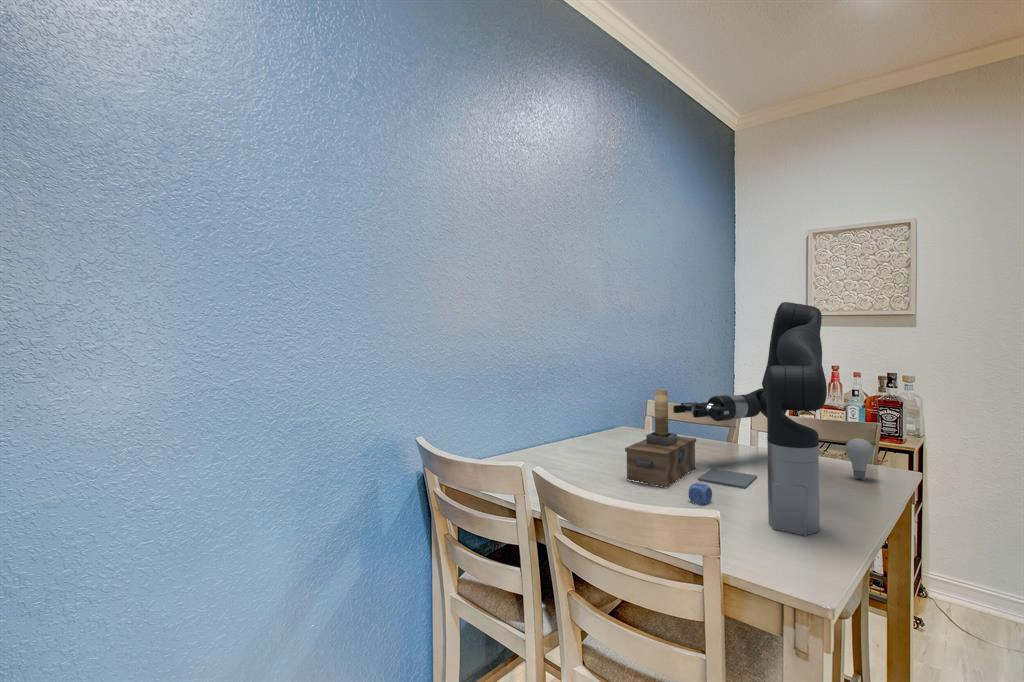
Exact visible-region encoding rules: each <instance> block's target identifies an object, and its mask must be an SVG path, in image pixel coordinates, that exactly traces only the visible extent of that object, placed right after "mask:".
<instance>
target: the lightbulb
mask: <svg viewBox="0 0 1024 682" xmlns="http://www.w3.org/2000/svg"><path fill="white" fill-rule="evenodd" d="M844 448H845V449H844V450H845V453H846V454H847V457H848V458H849V460H850V462H851V467H852V470H853V476H854V477H855V478H856V479H857V480H863V479H865V478H866V471H867V467H868V464H869V461H870V460H871V459H872V457H873V455H874V447H873V445H872V444H871V443H870V442H869V441H867V440H866V439H863V438H859V437H858V438H857V437H855V438H852V439H849V441H847V443H846V444H845V447H844Z"/></svg>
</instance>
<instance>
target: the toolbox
mask: <svg viewBox="0 0 1024 682" xmlns="http://www.w3.org/2000/svg"><path fill="white" fill-rule="evenodd" d="M696 442H697V437H688V436H680V435H677V443H675V444H673V445H671V446H669V447H667V446H660V445H653V444H646V438H645V439H642V440H641V441H638V442H635V443H634V444H631V445H629V446H626V447H625V448H624V452H625V453H626V480H627V479H629V480H634V481H639V482H643V483H648V484H653V485H658V486H662V487H661V488H663V487H667V486H668V487H669V485H670V484H671V485H672V483H673V482H674V483H676V482H677V481H679V480H680V479H682V478H683V477H685V476H686V475H688V474H689V473H691V472H692V471H694V470H695V469H696ZM694 468H695V469H694ZM693 469H694V470H693ZM691 470H692V471H691ZM690 471H691V472H690ZM688 472H689V473H688ZM687 473H688V474H687ZM685 474H686V475H685ZM684 475H685V476H684ZM682 476H683V477H682ZM681 477H682V478H681ZM679 478H680V479H679ZM678 479H679V480H678ZM676 480H677V481H676ZM675 481H676V482H675ZM643 483H642V484H643ZM674 483H673V484H674ZM648 484H647V485H648ZM653 485H652V486H653ZM671 485H670V486H671ZM658 486H657V487H658ZM668 487H667V488H668Z"/></svg>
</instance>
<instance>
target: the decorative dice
mask: <svg viewBox="0 0 1024 682" xmlns="http://www.w3.org/2000/svg"><path fill="white" fill-rule="evenodd" d="M688 498H689V500H690V501H691V502H692V503H693V502H694V503H693V504H695V503H696V504H695V505H699V504H701V505H700V506H705V504H707V505H709V504H710V503H711V501H712V498H713V491H712V488H711V487H710V485H708V484H707V483H704V482H703V483H701V482H695V483H692V484H691V485H690V486H689V488H688Z"/></svg>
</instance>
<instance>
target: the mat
mask: <svg viewBox="0 0 1024 682" xmlns="http://www.w3.org/2000/svg"><path fill="white" fill-rule="evenodd" d="M757 478H758V475H756V474H751V473H750V474H749V473H744V472H737V471H733V470H732V471H731V470H724V469H718V468H712V467H711V469H709V470H708V471H706V472H705V473H703V474H702V475H701V476H699V477H698V478H697V481H698V480H699V482H703V481H704V482H705V483H709V484H714V483H716V484H715V485H720V484H721V485H720V486H726V485H727V487H731V486H732V487H733V488H737V487H738V489H743V488H744V489H743V490H746V489H747V488H748V487H749V486H750V485H751V484H752V483H753V482H754V481H756V479H757ZM704 482H703V483H704Z"/></svg>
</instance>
